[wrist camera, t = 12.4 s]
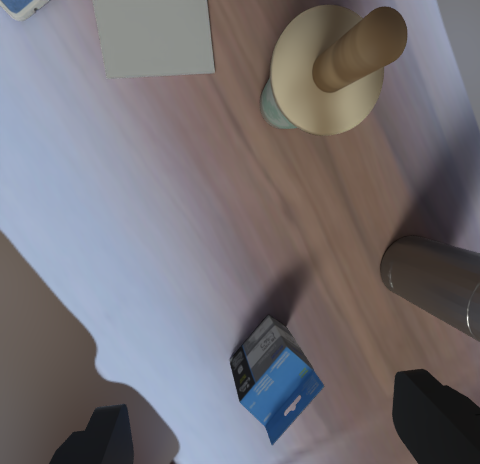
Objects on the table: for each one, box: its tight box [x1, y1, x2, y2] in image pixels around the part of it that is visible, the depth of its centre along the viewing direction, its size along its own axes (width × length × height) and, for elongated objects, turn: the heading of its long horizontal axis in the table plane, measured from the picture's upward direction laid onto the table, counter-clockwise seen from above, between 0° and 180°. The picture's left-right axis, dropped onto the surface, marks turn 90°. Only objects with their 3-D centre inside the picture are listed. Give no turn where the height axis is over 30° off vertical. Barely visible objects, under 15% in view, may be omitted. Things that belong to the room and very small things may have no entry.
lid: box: [270, 5, 407, 136], centre depth 22 cm, size 10×10×8 cm
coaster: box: [93, 0, 215, 79], centre depth 33 cm, size 12×12×1 cm
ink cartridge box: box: [230, 315, 324, 445], centre depth 37 cm, size 9×4×12 cm, turn 139°
